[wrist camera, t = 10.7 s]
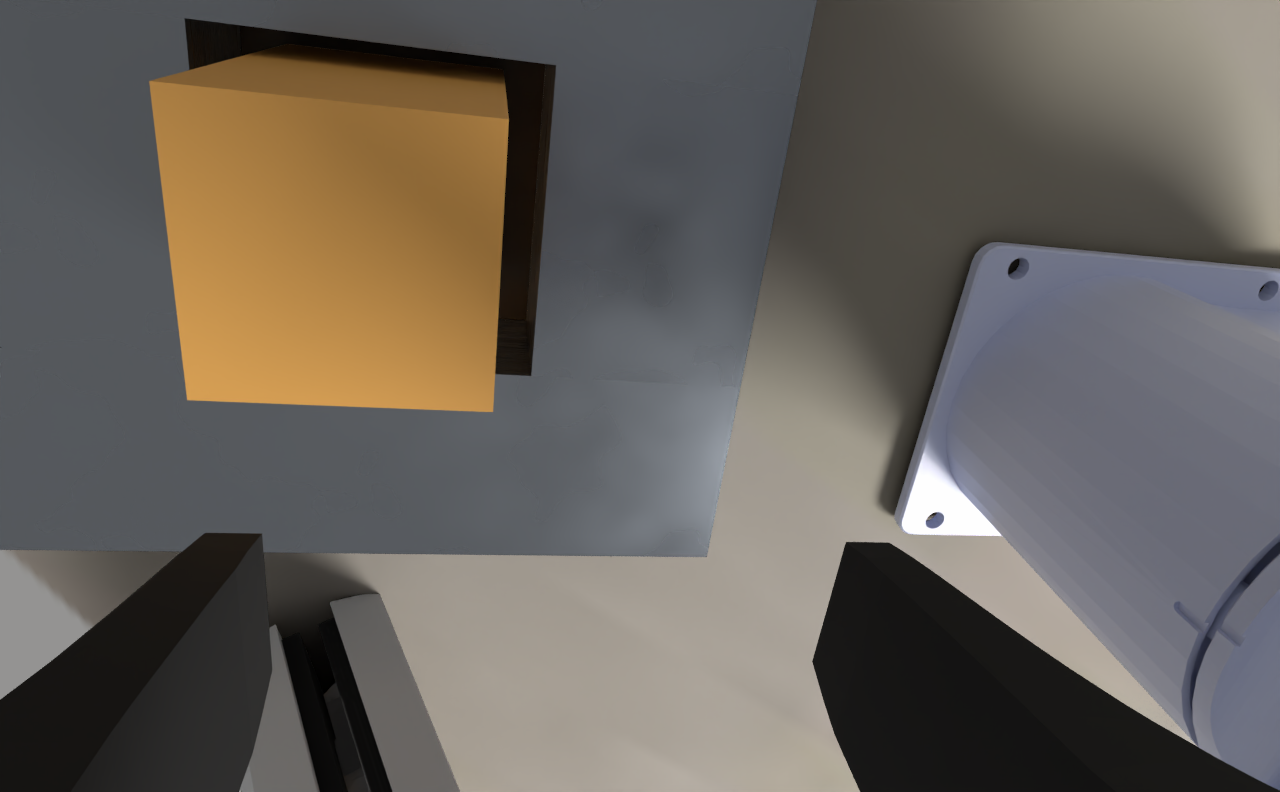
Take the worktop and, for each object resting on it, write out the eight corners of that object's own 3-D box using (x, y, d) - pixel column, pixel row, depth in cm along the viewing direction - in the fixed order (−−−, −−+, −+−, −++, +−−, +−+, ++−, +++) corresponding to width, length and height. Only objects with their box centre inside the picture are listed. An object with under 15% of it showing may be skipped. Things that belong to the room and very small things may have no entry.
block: (503, 69, 16) (508, 118, 10) (493, 265, 18) (492, 412, 12) (287, 43, 16) (148, 80, 9) (298, 251, 17) (187, 400, 11)
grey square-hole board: (792, -163, 15) (855, -194, 13) (679, 485, 21) (706, 557, 19) (-81, -329, 13) (-235, -415, 10) (68, 468, 18) (-3, 549, 16)
